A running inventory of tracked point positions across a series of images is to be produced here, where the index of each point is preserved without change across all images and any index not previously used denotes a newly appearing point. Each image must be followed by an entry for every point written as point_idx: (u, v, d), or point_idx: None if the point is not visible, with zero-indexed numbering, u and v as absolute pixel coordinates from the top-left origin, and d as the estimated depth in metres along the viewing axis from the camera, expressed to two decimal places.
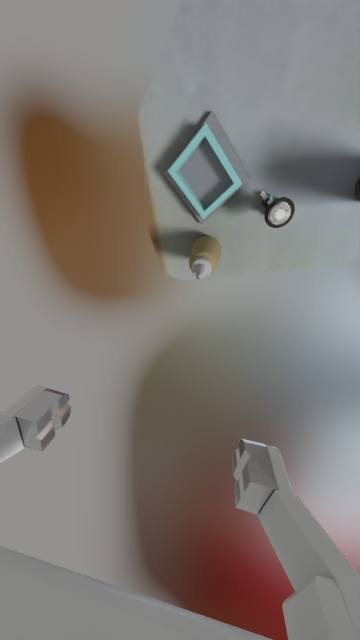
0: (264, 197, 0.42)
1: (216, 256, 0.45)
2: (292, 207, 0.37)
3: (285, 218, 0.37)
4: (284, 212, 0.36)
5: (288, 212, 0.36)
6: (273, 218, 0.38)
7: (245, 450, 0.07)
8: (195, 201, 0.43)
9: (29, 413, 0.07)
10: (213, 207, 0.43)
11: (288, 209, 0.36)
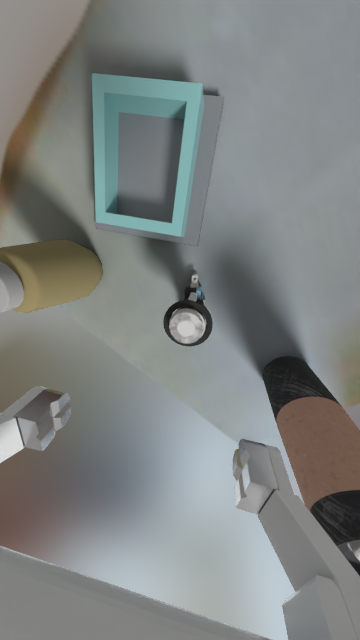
0: (193, 283, 0.26)
1: (56, 293, 0.20)
2: (206, 333, 0.20)
3: (188, 339, 0.20)
4: (192, 331, 0.19)
5: (197, 336, 0.20)
6: (174, 325, 0.20)
7: (245, 450, 0.07)
8: (102, 182, 0.21)
9: (29, 413, 0.07)
10: (122, 222, 0.22)
11: (200, 332, 0.19)
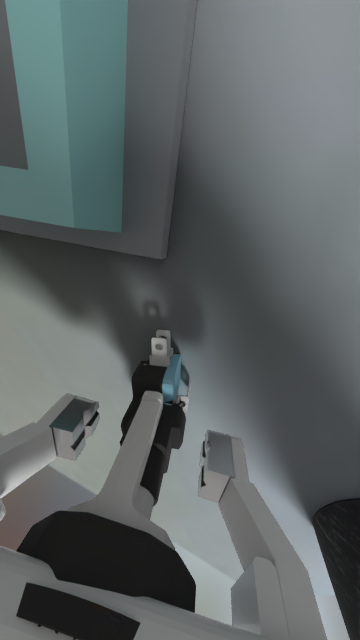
0: (156, 357, 0.10)
1: None
2: None
3: None
4: None
5: None
6: None
7: (208, 440, 0.08)
8: None
9: (64, 423, 0.07)
10: None
11: None
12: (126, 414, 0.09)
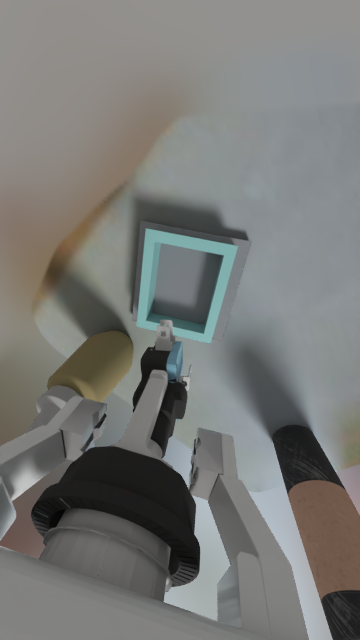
0: (160, 343, 0.11)
1: (105, 396, 0.24)
2: (181, 576, 0.06)
3: None
4: None
5: None
6: None
7: (198, 438, 0.08)
8: (146, 299, 0.24)
9: (73, 425, 0.07)
10: None
11: None
12: (137, 390, 0.11)
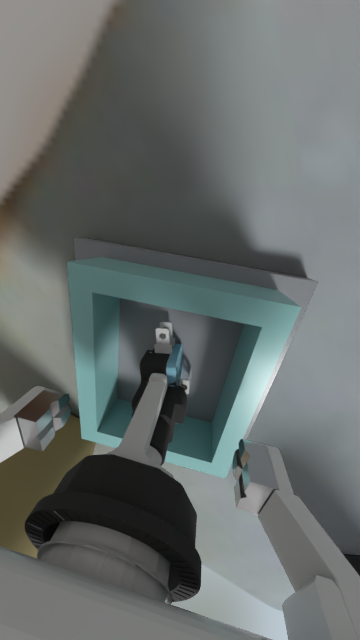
0: (160, 345, 0.11)
1: None
2: (182, 591, 0.06)
3: None
4: None
5: None
6: None
7: (245, 450, 0.07)
8: (91, 399, 0.12)
9: (29, 413, 0.07)
10: None
11: None
12: (135, 394, 0.10)
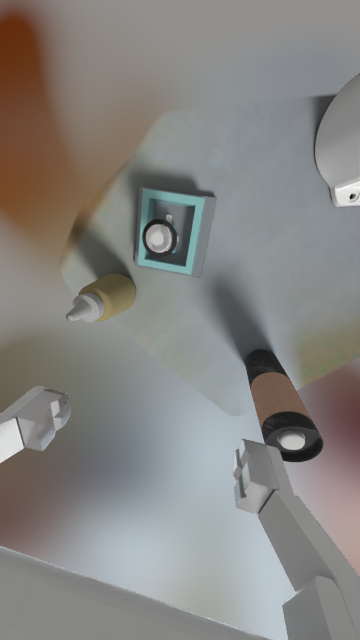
0: (167, 222, 0.34)
1: (116, 309, 0.34)
2: (173, 244, 0.28)
3: (159, 248, 0.28)
4: (162, 240, 0.27)
5: (165, 244, 0.27)
6: (149, 236, 0.27)
7: (245, 450, 0.07)
8: None
9: (29, 413, 0.07)
10: (154, 265, 0.36)
11: (167, 240, 0.27)
12: None
